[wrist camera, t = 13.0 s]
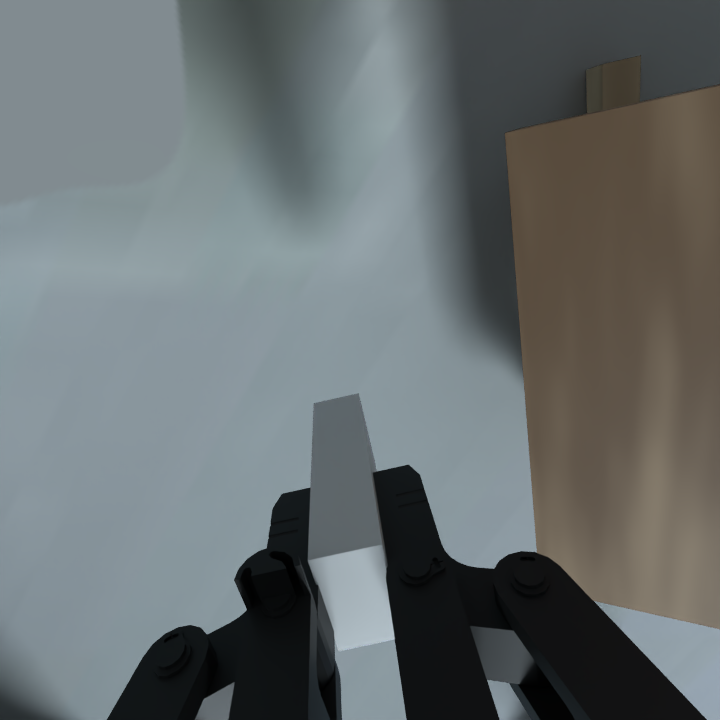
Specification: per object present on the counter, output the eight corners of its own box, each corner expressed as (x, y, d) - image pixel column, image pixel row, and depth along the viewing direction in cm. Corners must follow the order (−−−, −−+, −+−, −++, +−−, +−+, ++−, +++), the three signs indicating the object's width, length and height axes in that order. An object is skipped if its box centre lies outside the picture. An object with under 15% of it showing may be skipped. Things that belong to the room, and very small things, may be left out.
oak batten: (591, 452, 26) (603, 464, 25) (586, 69, 19) (602, 64, 18) (617, 446, 26) (630, 458, 25) (622, 61, 19) (640, 55, 18)
